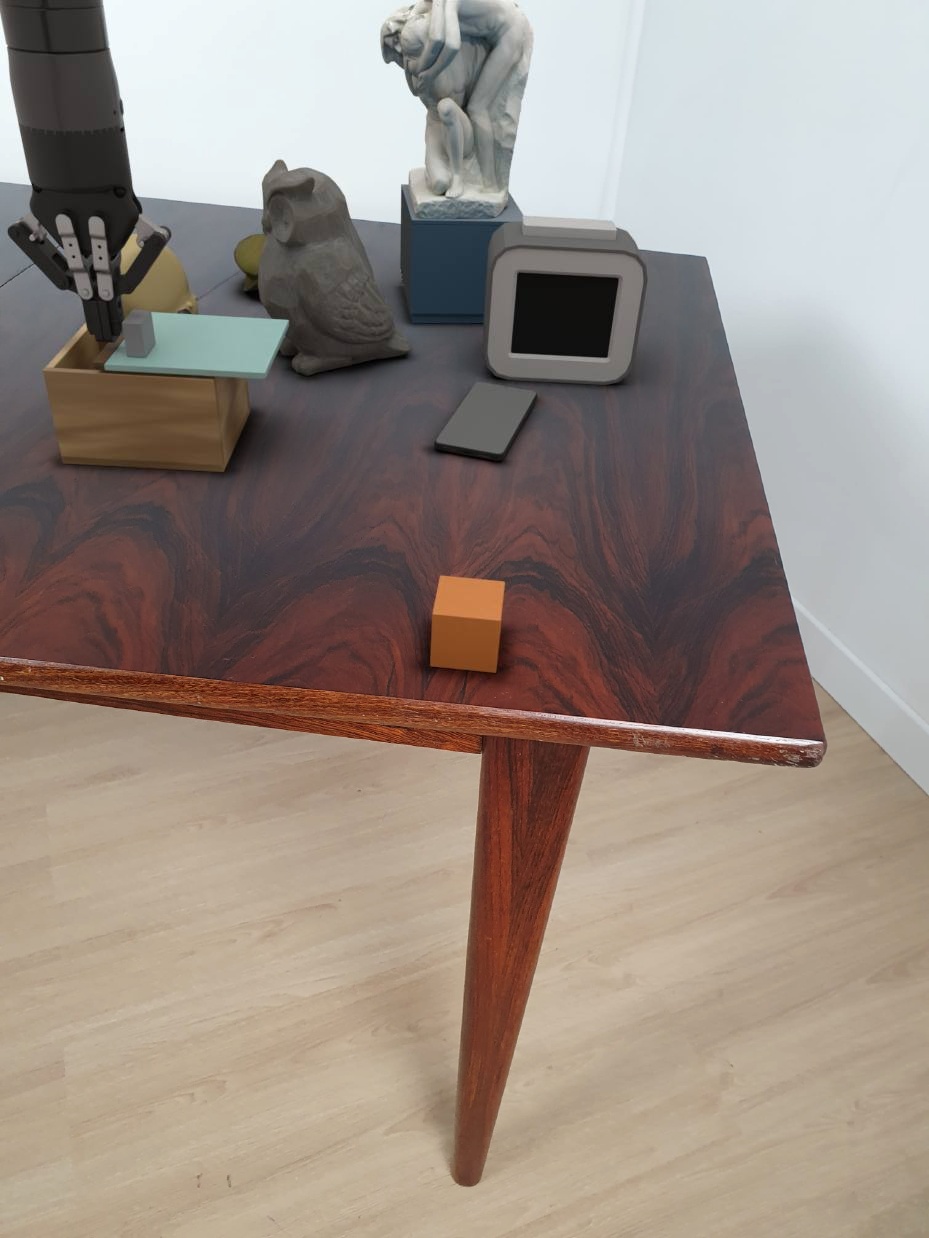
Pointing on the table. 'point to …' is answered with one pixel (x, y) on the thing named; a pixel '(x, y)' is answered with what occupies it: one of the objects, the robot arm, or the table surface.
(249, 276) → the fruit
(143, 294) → the toy pig
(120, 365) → the mint sliding box lid
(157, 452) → the maple box
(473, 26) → the sculpture
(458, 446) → the smartphone
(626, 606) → the table surface
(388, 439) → the table surface
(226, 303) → the table surface
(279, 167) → the figurine
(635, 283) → the alarm clock
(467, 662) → the block
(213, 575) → the table surface
